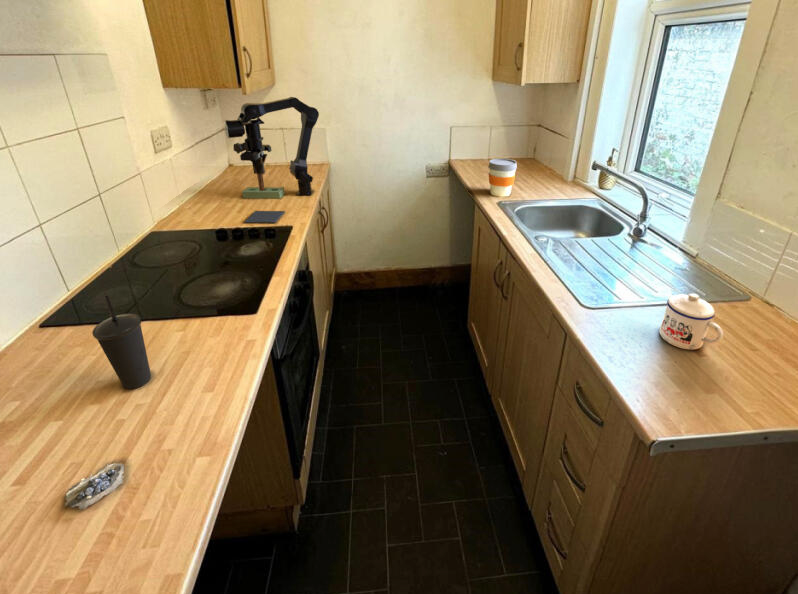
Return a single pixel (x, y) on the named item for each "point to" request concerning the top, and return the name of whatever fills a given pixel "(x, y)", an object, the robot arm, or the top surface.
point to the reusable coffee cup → (501, 176)
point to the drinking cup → (124, 347)
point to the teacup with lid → (688, 322)
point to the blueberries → (95, 486)
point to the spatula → (260, 176)
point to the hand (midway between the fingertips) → (259, 172)
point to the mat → (264, 217)
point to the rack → (263, 192)
